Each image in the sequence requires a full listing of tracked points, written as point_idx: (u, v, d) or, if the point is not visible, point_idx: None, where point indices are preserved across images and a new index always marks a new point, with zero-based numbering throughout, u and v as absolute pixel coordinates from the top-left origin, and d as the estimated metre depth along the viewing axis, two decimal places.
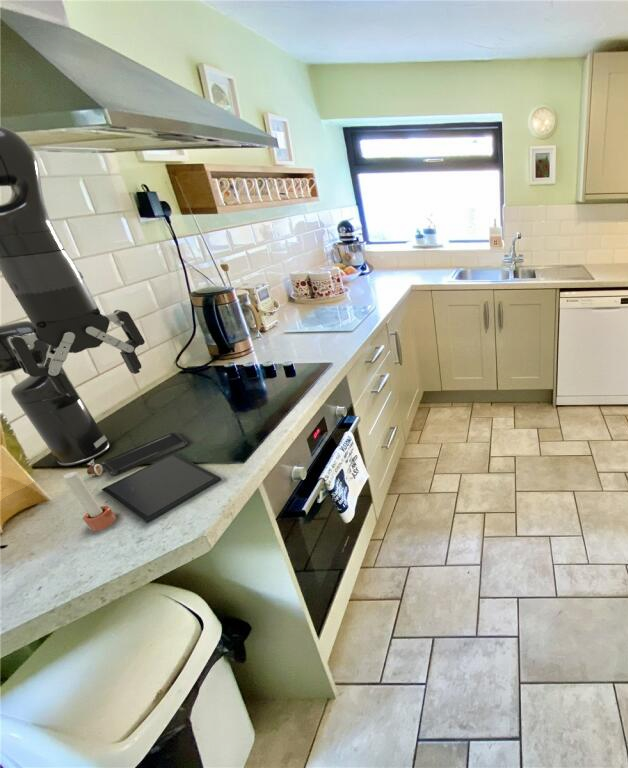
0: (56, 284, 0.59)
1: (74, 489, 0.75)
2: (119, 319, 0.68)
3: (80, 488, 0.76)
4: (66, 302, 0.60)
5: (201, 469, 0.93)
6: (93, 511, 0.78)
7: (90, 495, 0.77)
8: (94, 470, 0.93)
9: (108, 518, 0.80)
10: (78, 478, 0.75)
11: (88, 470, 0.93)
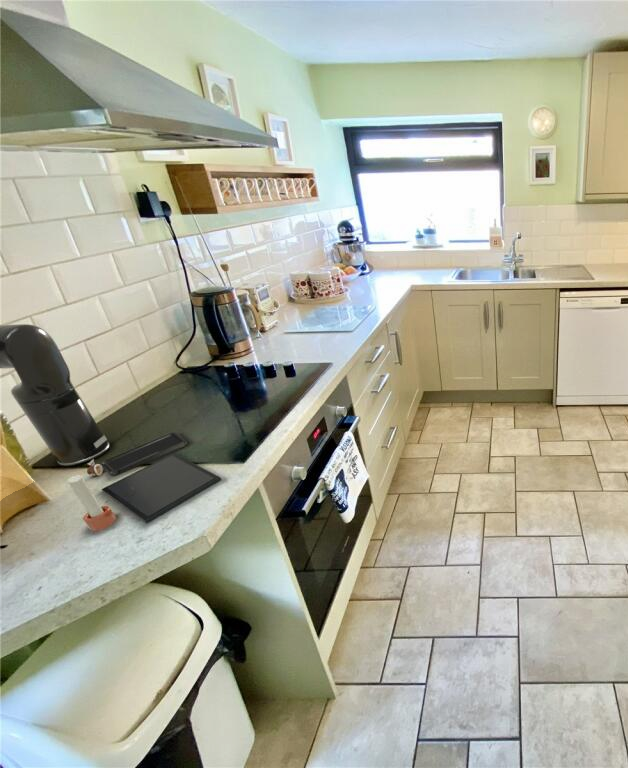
0: None
1: (78, 492, 0.75)
2: None
3: (84, 492, 0.75)
4: None
5: (201, 469, 0.93)
6: (95, 513, 0.78)
7: (93, 498, 0.77)
8: (94, 470, 0.93)
9: (108, 518, 0.80)
10: (83, 482, 0.75)
11: (88, 470, 0.93)
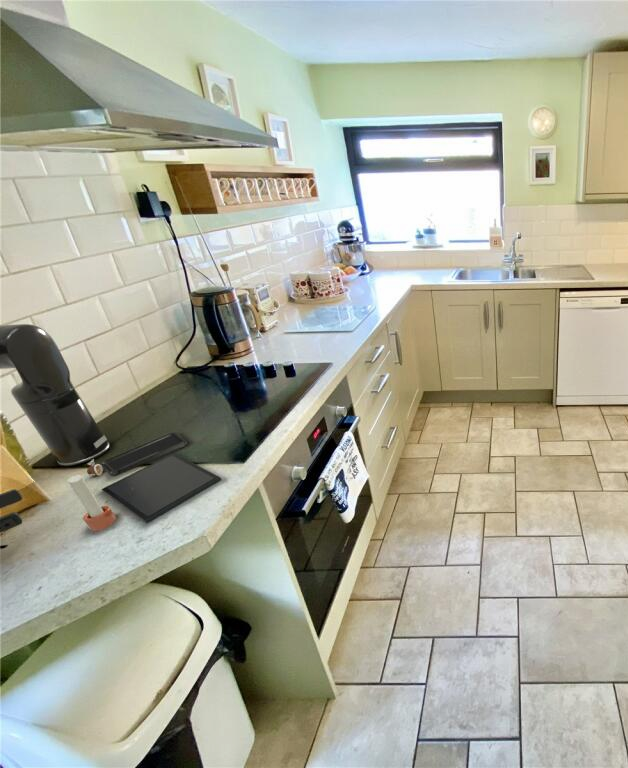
0: None
1: (78, 492, 0.75)
2: None
3: (84, 492, 0.75)
4: None
5: (201, 469, 0.93)
6: (95, 513, 0.78)
7: (93, 498, 0.77)
8: (94, 470, 0.93)
9: (108, 518, 0.80)
10: (83, 482, 0.75)
11: (88, 470, 0.93)
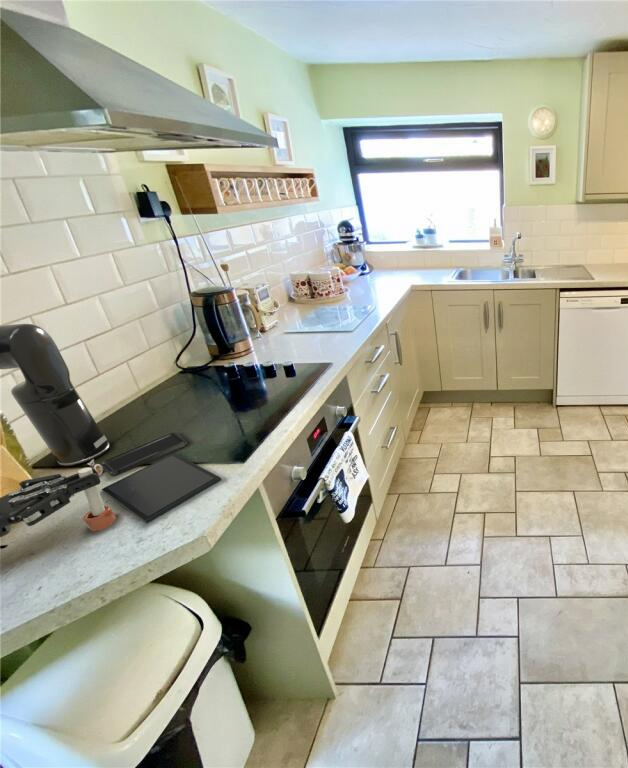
0: None
1: None
2: None
3: None
4: None
5: (201, 469, 0.93)
6: (97, 510, 0.78)
7: (98, 493, 0.78)
8: None
9: (108, 518, 0.80)
10: None
11: None
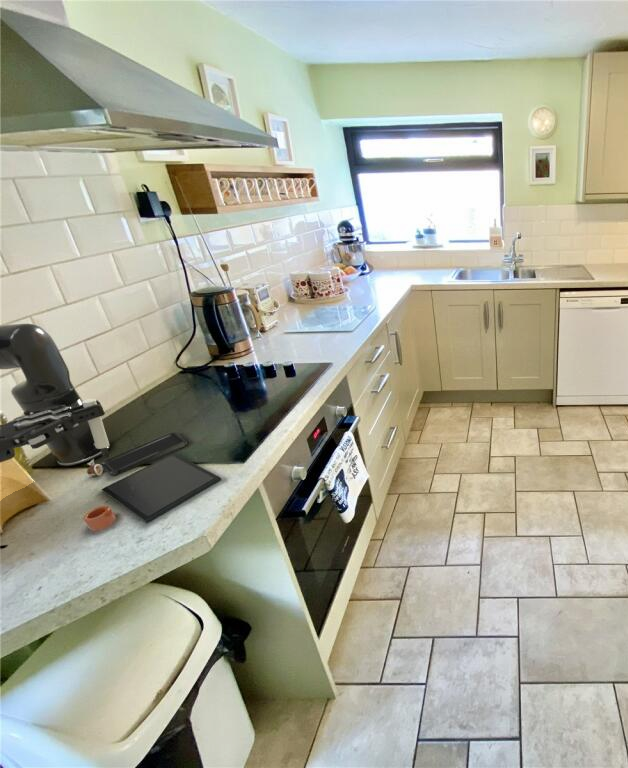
0: None
1: None
2: None
3: None
4: None
5: (201, 469, 0.93)
6: (101, 442, 0.78)
7: (102, 425, 0.78)
8: (94, 470, 0.93)
9: (108, 518, 0.80)
10: None
11: (88, 470, 0.93)
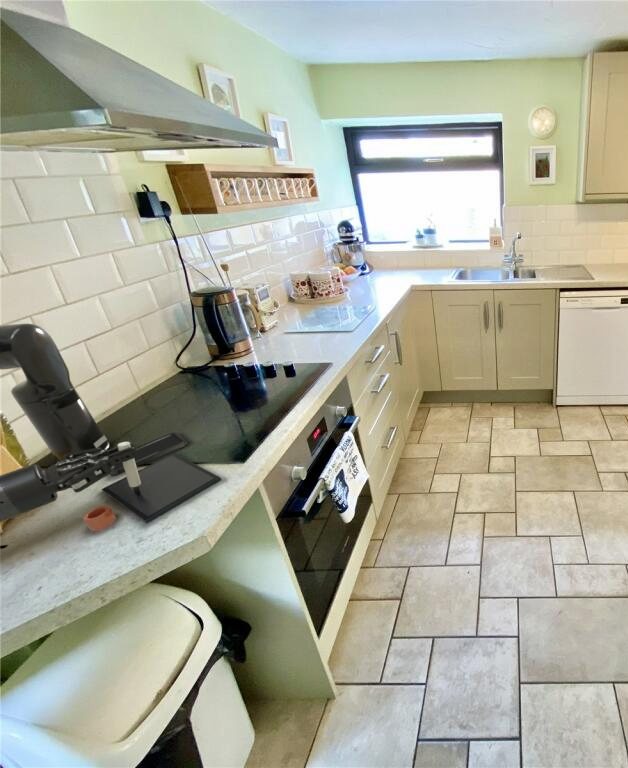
0: None
1: None
2: None
3: None
4: None
5: (201, 469, 0.93)
6: (134, 481, 0.84)
7: (135, 466, 0.84)
8: None
9: (108, 518, 0.80)
10: None
11: None
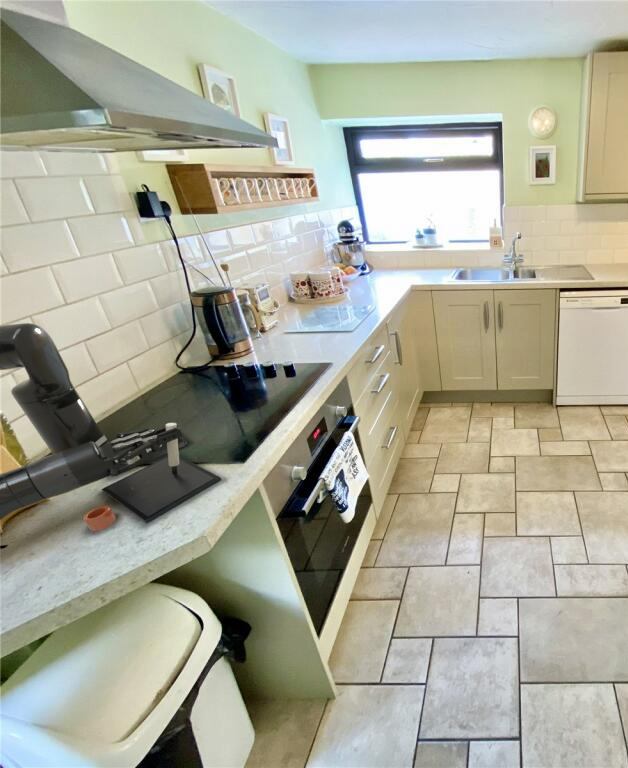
0: None
1: None
2: None
3: None
4: None
5: (201, 469, 0.93)
6: (174, 461, 0.90)
7: (177, 446, 0.90)
8: None
9: (108, 518, 0.80)
10: None
11: None
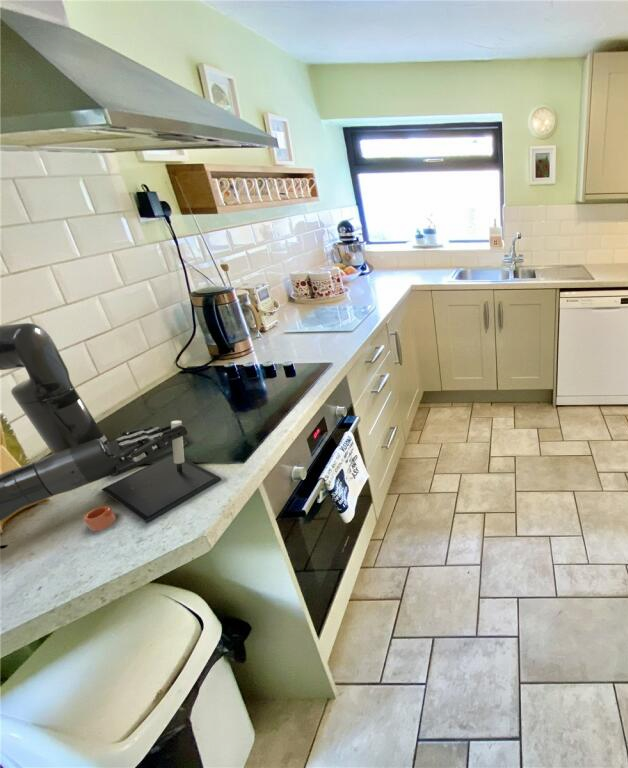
0: None
1: None
2: None
3: None
4: None
5: (201, 469, 0.93)
6: (179, 458, 0.91)
7: (182, 443, 0.91)
8: None
9: (108, 518, 0.80)
10: None
11: None
